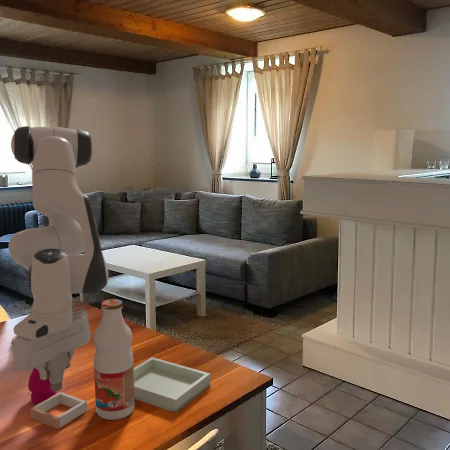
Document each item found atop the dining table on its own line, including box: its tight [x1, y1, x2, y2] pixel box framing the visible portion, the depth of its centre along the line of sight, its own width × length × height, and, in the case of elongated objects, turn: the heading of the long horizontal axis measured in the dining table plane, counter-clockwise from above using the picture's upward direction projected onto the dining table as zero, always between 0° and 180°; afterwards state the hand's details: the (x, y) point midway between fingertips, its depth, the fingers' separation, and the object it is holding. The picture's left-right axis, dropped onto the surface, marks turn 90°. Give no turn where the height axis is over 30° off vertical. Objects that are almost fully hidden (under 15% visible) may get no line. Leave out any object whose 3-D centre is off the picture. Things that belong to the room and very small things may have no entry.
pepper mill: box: [27, 368, 58, 406], centre depth 126 cm, size 7×7×20 cm
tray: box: [134, 356, 211, 414], centre depth 133 cm, size 20×16×4 cm
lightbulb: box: [44, 352, 69, 392], centre depth 119 cm, size 6×6×11 cm
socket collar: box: [29, 391, 88, 430], centre depth 120 cm, size 9×9×2 cm
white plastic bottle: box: [93, 298, 136, 421], centre depth 120 cm, size 9×9×28 cm
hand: (55, 373), depth 119 cm, fingers closed on lightbulb, 5 cm apart
